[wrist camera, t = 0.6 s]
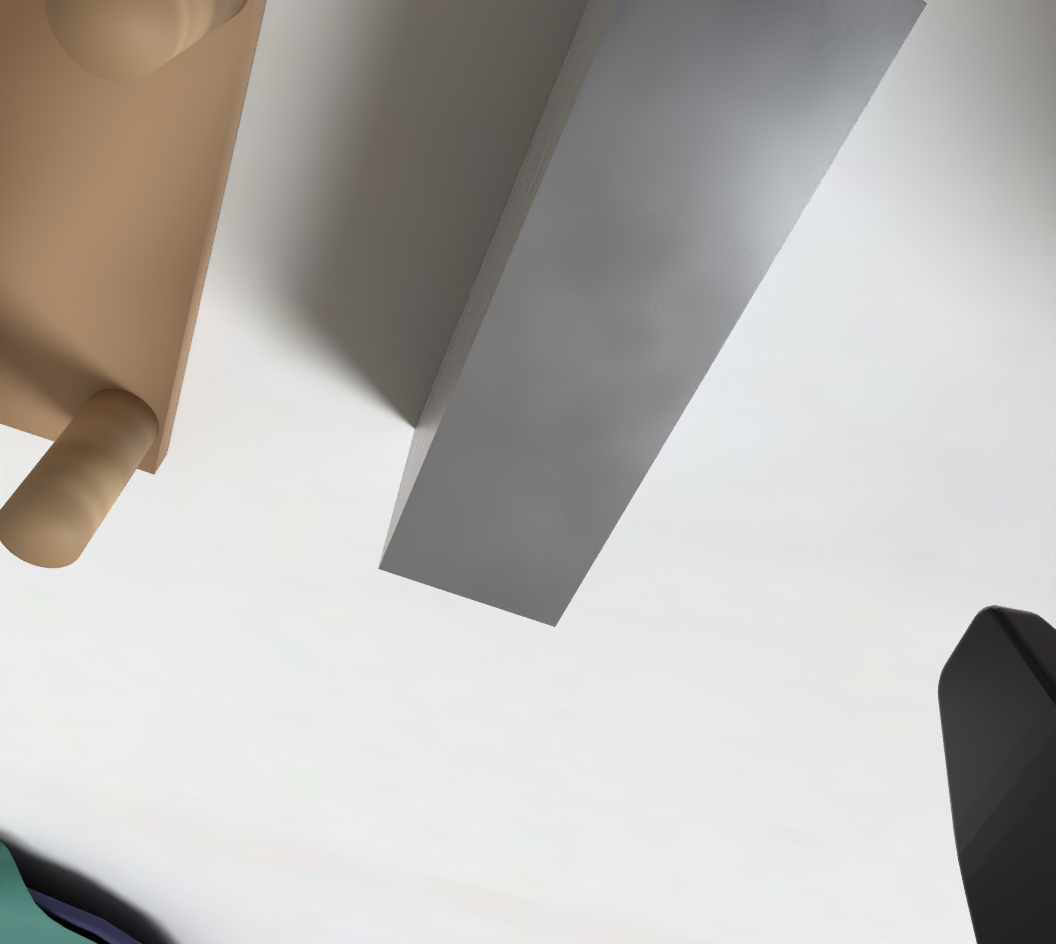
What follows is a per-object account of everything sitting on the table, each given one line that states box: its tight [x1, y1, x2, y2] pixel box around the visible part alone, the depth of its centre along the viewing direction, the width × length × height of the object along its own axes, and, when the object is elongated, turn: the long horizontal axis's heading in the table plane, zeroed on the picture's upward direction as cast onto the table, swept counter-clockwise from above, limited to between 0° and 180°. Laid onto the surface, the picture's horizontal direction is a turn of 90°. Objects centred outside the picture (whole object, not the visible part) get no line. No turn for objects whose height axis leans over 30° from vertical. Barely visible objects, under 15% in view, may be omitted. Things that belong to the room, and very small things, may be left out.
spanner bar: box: [378, 0, 927, 627], centre depth 17 cm, size 12×4×5 cm, turn 158°
